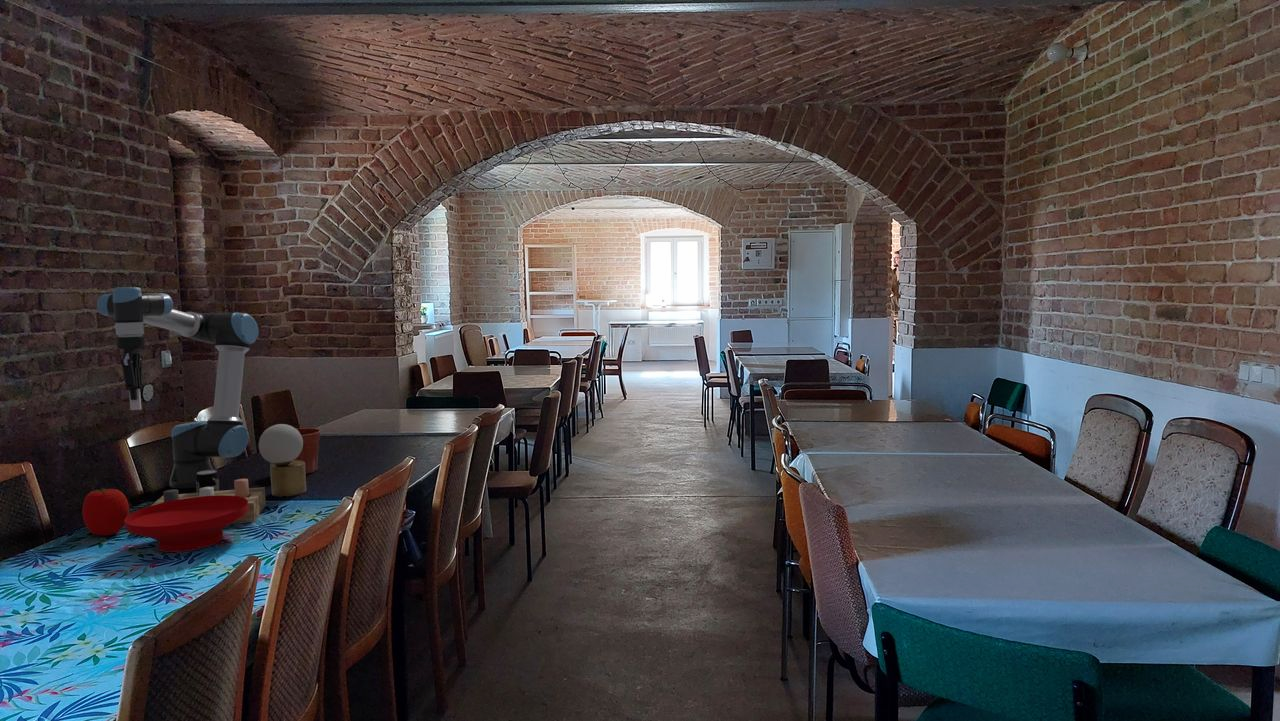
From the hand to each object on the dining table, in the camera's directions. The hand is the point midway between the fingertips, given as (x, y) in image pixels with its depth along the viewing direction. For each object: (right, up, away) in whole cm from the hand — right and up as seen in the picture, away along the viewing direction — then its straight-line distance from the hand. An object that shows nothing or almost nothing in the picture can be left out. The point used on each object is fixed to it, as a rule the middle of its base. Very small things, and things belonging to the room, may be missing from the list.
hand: (136, 409), depth 246 cm
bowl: (+33, -37, -26) cm, 55 cm away
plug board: (+24, -34, -1) cm, 42 cm away
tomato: (+2, -36, -16) cm, 40 cm away
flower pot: (+26, -29, +60) cm, 71 cm away
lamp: (+36, -32, +26) cm, 54 cm away
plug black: (+14, -34, -4) cm, 37 cm away
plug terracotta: (+33, -32, +2) cm, 46 cm away
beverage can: (+17, -33, +11) cm, 39 cm away
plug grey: (+24, -34, -1) cm, 41 cm away
